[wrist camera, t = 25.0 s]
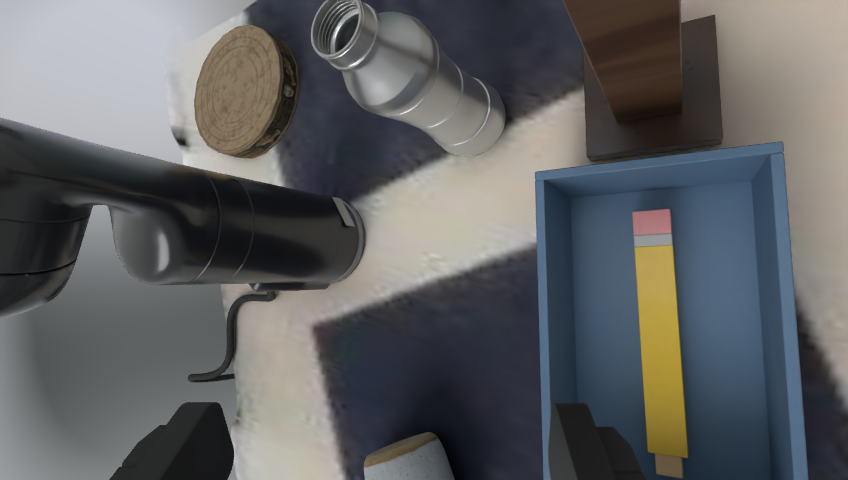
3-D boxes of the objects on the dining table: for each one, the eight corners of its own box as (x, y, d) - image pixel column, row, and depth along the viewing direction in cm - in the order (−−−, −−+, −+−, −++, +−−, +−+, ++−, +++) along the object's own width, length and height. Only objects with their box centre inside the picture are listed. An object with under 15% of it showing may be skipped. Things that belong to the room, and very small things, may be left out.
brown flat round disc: (247, 18, 60) (228, 6, 58) (319, 64, 53) (301, 54, 51) (199, 124, 64) (179, 118, 61) (260, 181, 57) (240, 177, 54)
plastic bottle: (527, 119, 40) (407, -1, 23) (476, 176, 42) (329, 107, 25) (481, 77, 43) (340, -58, 25) (434, 134, 45) (275, 44, 27)
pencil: (689, 468, 32) (690, 482, 30) (651, 462, 33) (649, 475, 31) (671, 212, 33) (670, 208, 31) (635, 215, 34) (631, 211, 32)
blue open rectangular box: (783, 509, 30) (816, 589, 22) (574, 468, 36) (544, 520, 29) (759, 173, 31) (783, 140, 24) (565, 192, 38) (534, 171, 30)
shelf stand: (732, 177, 32) (1009, -415, 5) (584, 191, 37) (292, -53, 10) (721, 15, 33) (896, -1268, 6) (579, 50, 38) (300, -541, 11)
